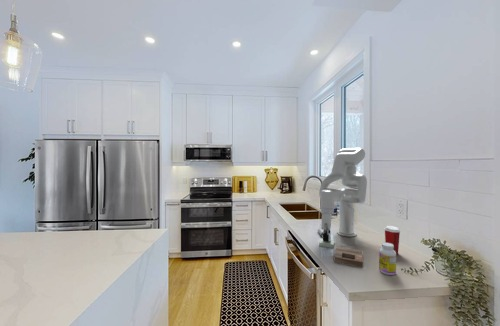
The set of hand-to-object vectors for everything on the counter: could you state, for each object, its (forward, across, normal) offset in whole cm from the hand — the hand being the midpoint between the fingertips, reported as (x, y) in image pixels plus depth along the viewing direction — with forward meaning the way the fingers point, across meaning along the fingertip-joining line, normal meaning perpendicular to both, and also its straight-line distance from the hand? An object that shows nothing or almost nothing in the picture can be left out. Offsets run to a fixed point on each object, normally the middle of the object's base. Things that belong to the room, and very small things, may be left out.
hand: (326, 238), depth 135 cm
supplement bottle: (+4, +22, +29) cm, 37 cm away
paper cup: (+4, -3, +34) cm, 34 cm away
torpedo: (+4, -17, -5) cm, 18 cm away
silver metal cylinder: (+2, 0, 0) cm, 2 cm away
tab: (+4, 0, 0) cm, 4 cm away
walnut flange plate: (+4, +15, +13) cm, 20 cm away
